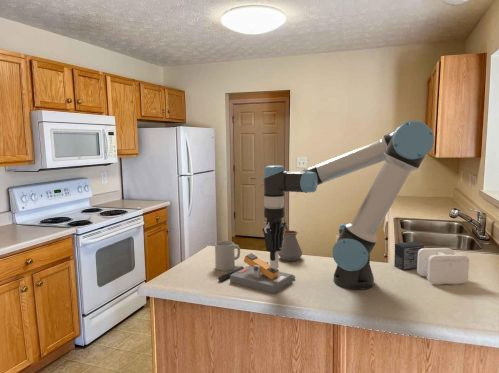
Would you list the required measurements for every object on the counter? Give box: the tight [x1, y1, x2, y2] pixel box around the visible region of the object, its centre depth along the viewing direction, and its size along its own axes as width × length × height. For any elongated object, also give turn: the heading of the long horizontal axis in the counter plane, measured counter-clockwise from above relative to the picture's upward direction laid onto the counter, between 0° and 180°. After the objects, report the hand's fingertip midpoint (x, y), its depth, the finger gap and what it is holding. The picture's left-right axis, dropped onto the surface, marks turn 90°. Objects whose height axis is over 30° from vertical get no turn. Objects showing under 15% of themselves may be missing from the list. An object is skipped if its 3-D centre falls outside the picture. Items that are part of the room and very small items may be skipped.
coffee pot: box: [278, 220, 303, 262], centre depth 176 cm, size 21×12×15 cm, turn 4°
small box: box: [393, 241, 425, 272], centre depth 158 cm, size 11×6×10 cm, turn 106°
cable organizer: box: [416, 247, 470, 286], centre depth 142 cm, size 15×11×12 cm
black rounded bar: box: [217, 265, 245, 282], centre depth 150 cm, size 2×16×2 cm, turn 145°
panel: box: [229, 260, 293, 295], centre depth 142 cm, size 20×14×8 cm
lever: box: [243, 253, 280, 279], centre depth 142 cm, size 14×4×3 cm, turn 55°
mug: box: [214, 240, 241, 272], centre depth 161 cm, size 12×8×11 cm
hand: (274, 267), depth 139 cm, fingers closed
